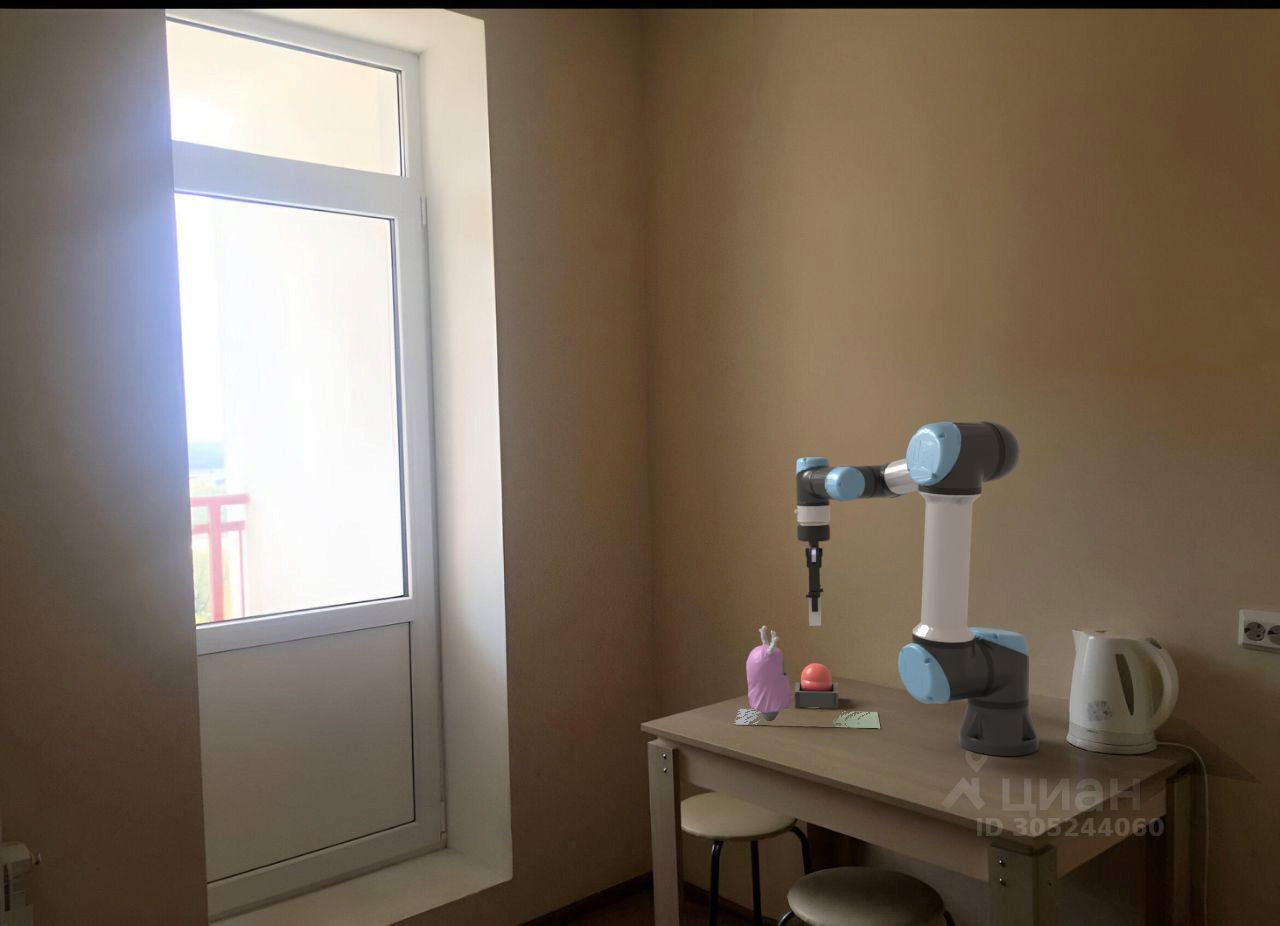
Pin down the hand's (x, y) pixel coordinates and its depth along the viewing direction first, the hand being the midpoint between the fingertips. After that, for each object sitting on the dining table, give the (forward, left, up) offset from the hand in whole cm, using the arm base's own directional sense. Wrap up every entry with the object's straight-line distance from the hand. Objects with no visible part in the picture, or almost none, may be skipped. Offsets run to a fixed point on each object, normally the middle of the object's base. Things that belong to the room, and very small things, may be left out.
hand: (815, 622), depth 246 cm
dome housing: (0, 0, -19) cm, 19 cm away
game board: (-14, +2, -19) cm, 24 cm away
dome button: (0, 0, -17) cm, 17 cm away
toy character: (-14, +10, -19) cm, 26 cm away
